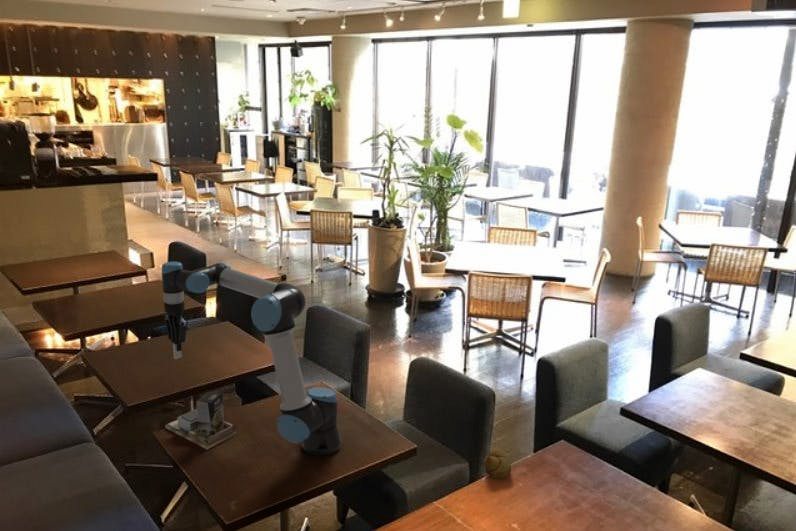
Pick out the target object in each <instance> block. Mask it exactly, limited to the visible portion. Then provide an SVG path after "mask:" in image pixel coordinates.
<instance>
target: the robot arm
mask: <svg viewBox="0 0 796 531" xmlns="http://www.w3.org/2000/svg"><path fill="white" fill-rule="evenodd" d="M161 278H162V282H161V283H162V294H163V296H162V297H163V302H164V303H163V307H164V310H163V311H164V312H165V313H166V314H165V315H163V316H162V318H163V321H164V324H165V330H166V334H167V338H168V340H170V341H171V343H172V350H173V351H172V352H173V353H172V354H173V359H174V360H178V359H180V358H182V356H183V353H182V350H183V349H182V343H185V342H186V337H187V336H186V335H187V326H188V324H189V321H188V320H185V319H184V318H185V317H184V314H183V313H184V311H185V308H186V307H185V306H186V305H185V301H184V300H185V295H184V293H185V292H184V291H188V292H191V293H198V294H202V293H204V292H206V290H207V289H208V288H209V287H211V286H213V285H214V286H215V285H218V286H220V287H221V286H222V287H224V288H227V289H231V290H233V291H236V292H239V293H242V294H245V295H248V296H252V297H253V298H254V297H255V298H257V300H255V301H254V303H253V305H252V307H251V313H250V315H251V320H252V323H253V326H255V327H256V329H258V330H259V331H261V332H262V336H264V337H266V338H267V339H268V340H267V341H268V344H269V348H270V353H271V355H272V361H273V365H274V370H275V373H276V377H277V382H278V386H279V390H280V395H281V400H282V402H281V404H280V405H279V409H280V413H281V414H280V415H281V416H279V418H278V420H277V421H276V422H277V423H276V427H277V431H278V433H279V434H280V435H281V437H282V438H284V439H285V440H286V441H288V442H289V443H293V444H299V443H301V448H302V450H303V451H304V452H306V454H308V455H312V456H317V457H318V456H319V457H321V456H322V457H323V456H329V455H332V454H335V453H336V452H338V451H339V450H340V449H341V447H342V438H341V435H340V433H339V432H340V431H339V428H338V424H337V421H338V398H337V397H338V396H337V392H336V391H335V390H333V389H331V388H328V387H323V386H322V387H320V386H319V387H318V386H317V387H311V388H309V389H307V391H306V387H305V382H304V379H303V375H302V374H303V373H302V369H301V365H300V361H299V357H298V352H297V348H296V343H295V340H294V339H295V338H294V334H293V331H294V330H295V328H296V325H295V324H296V323H295V320H294V319H296V318H298V317H299V316H300V315H301V314H302V313H303V312H304V310H305V308H306V297H305V295H304V293H303V290H301V289H300V288H298V287H297V286H295V285H293V284H290V283H286V282H284V281H280V282H279V283H278V282H276V281H275V282H274V281H271V280H268V279H264V278H261V277H258V276H255V275H252V274H249V273H246V272H242V271H238V270H235V269H233V268H231V266H230V265H229V264H228V263H227V262H217V263H214V264H211V265H208V266H205V267H201V268H197V269H195V270H186V269H184V267H183V263H181V262H179V261H167V262H164V263H163V264H162V265H161Z"/></svg>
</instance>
